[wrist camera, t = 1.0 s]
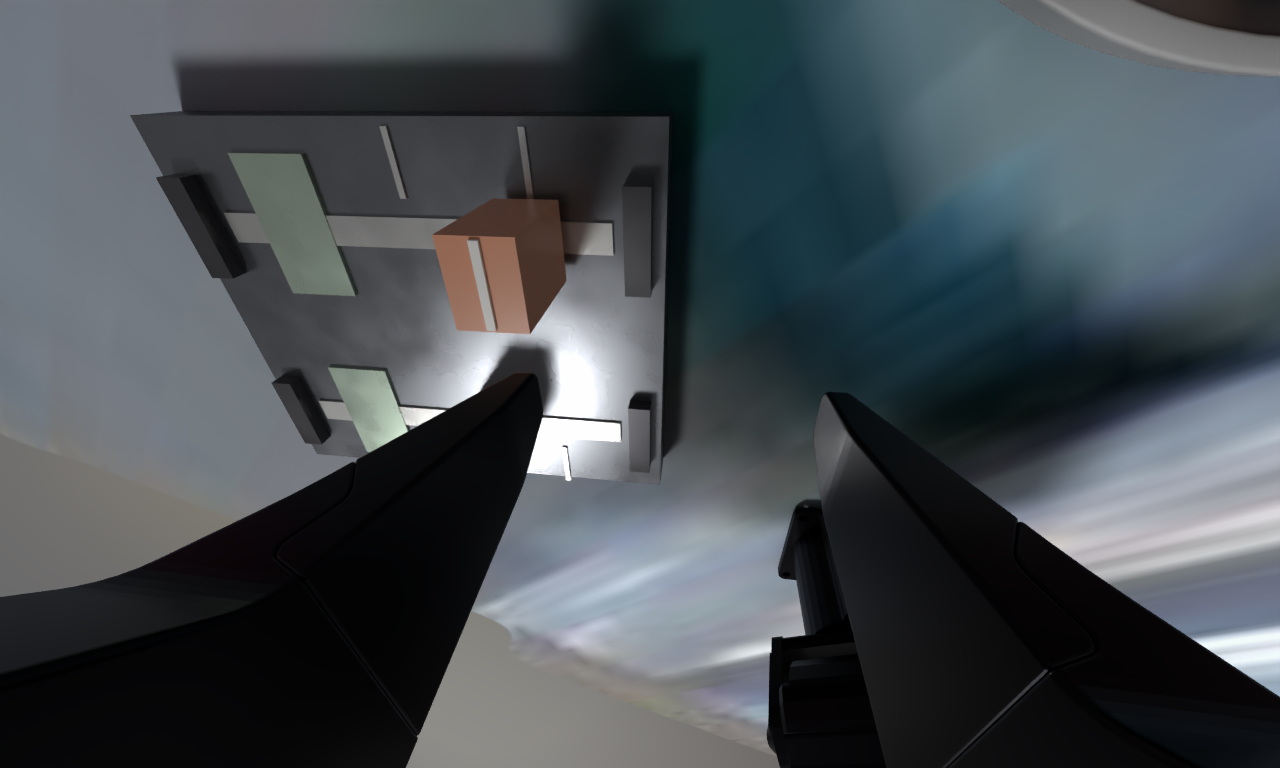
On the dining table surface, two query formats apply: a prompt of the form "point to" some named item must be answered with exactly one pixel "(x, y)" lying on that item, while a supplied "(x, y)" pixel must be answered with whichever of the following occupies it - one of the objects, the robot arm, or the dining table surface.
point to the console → (435, 266)
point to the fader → (502, 264)
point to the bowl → (1169, 31)
